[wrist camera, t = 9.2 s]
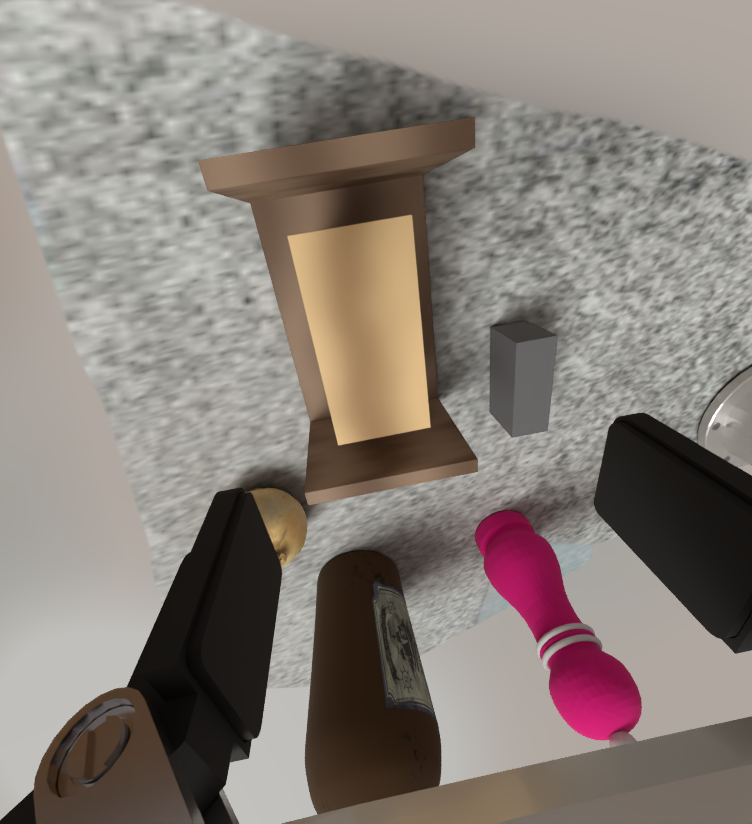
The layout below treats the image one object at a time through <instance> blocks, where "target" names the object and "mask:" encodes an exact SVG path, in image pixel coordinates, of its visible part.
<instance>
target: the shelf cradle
mask: <svg viewBox="0 0 752 824" xmlns="http://www.w3.org/2000/svg"><path fill="white" fill-rule="evenodd" d="M473 148H475V117H470V118H464V119H458V120H451V121H445V122H439V123H432V124H426V125H420V126H413V127H407V128H400V129H394V130H388V131H381V132H375V133H369V134H362V135H356V136H350V137H343V138H337V139H331V140H324V141H318V142H312V143H305V144H299V145H293V146H286V147H280V148H274V149H267V150H261V151H255V152H248V153H242V154H235V155H229V156H223V157H216V158H210V159H204V160H198V162H199V165H200V169H201V172H202V175H203V178H204V181H205V184H206V187H207V190H208V191H210V192H214V193H217V194H221V195H224V196H227V197H231V198H234V199H238V200H241V201H244V202H248V203H250V204H251V208H252V211H253V215H254V218H255V222H256V226H257V229H258V233H259V237H260V240H261V244H262V248H263V251H264V255H265V259H266V262H267V266H268V269H269V273H270V277H271V280H272V284H273V288H274V291H275V295H276V299H277V302H278V306H279V310H280V313H281V317H282V320H283V324H284V328H285V331H286V335H287V339H288V342H289V346H290V350H291V353H292V357H293V360H294V364H295V368H296V371H297V375H298V379H299V382H300V386H301V390H302V393H303V397H304V401H305V404H306V408H307V411H308V415H309V419H310V433H309V445H308V457H307V470H306V482H305V496H306V499H307V503H308V505H313V504H318V503H323V502H328V501H333V500H338V499H343V498H348V497H353V496H358V495H363V494H368V493H373V492H378V491H383V490H388V489H393V488H398V487H403V486H408V485H413V484H418V483H423V482H428V481H433V480H438V479H443V478H449V477H454V476H459V475H464V474H469V473H474V472H478V459H477V458H476V456H475V454H474V453H473V451H472V450H471V448H470V447H469V445H468V444H467V442H466V441H465V439H464V437H463V436H462V434H461V433H460V431H459V430H458V428H457V427H456V425H455V424H454V422H453V420H452V419H451V417H450V416H449V414H448V413H447V411H446V410H445V408H444V407H443V405H442V403H441V402H440V400H439V399H438V392H437V378H436V363H435V348H434V334H433V319H432V305H431V290H430V276H429V261H428V247H427V232H426V217H425V203H424V188H423V175H424V174H426V173H428V172H430V171H431V170H433V169H435V168H437V167H439V166H441V165H443V164H445V163H447V162H449V161H450V160H452V159H454V158H456V157H458V156H460V155H462V154H464V153H466V152H468V151H469V150H471V149H473ZM406 215H412V220H413V231H414V243H415V254H416V266H417V277H418V288H419V300H420V311H421V323H422V334H423V346H424V357H425V369H426V380H427V391H428V403H429V414H430V426H431V427H430V428H425V429H420V430H415V431H410V432H405V433H400V434H394V435H389V436H384V437H379V438H374V439H369V440H364V441H359V442H353V443H348V444H343V445H338V443H337V438H336V434H335V430H334V426H333V422H332V418H331V414H330V410H329V406H328V401H327V397H326V393H325V389H324V385H323V381H322V377H321V373H320V369H319V364H318V360H317V356H316V352H315V348H314V344H313V340H312V336H311V332H310V327H309V323H308V319H307V315H306V311H305V307H304V303H303V299H302V295H301V291H300V286H299V282H298V278H297V274H296V270H295V266H294V262H293V258H292V254H291V249H290V245H289V241H288V237H287V236H290V235H294V234H300V233H306V232H312V231H318V230H323V229H329V228H335V227H341V226H347V225H353V224H358V223H364V222H370V221H376V220H382V219H388V218H393V217H399V216H406Z"/></svg>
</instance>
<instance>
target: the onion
mask: <svg viewBox="0 0 752 824" xmlns="http://www.w3.org/2000/svg"><path fill="white" fill-rule="evenodd" d="M249 492H251V493H252V494H253V496H254V499H255V501H256V504H257V506H258V509H259V511H260V514H261V516H262V519H263V521H264V524H265V526H266V528H267V531H268V533H269V536H270V538H271V541H272V543H273V546H274V548H275V551H276V553H277V556H278V558H279V560H280V563H281V568H282V567H284V566H285V565H287V564H288V563H289V562H290V561H291V560H292V559H294V558H295V557H296V556H297V554H298V553H299V552H300V551H301V549H302V547H303V545H304V542H305V538H306V533H307V519H306V515H305V512H304V510H303V508H302V506H301V504H300V503H299V502H298V501H297V500H296V499H295V498H293V497H292V496H291V495H290V494H288V493H286V492H284V491H282V490H279V489H275V488H265V489H261V488H259V487H257V488H256V489H255V488H254V489H251V491H249ZM245 493H246V492H245ZM270 504H271V505H270Z"/></svg>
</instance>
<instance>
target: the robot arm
mask: <svg viewBox="0 0 752 824" xmlns="http://www.w3.org/2000/svg"><path fill="white" fill-rule="evenodd" d="M748 464H750V465H752V367H750V368H749V369H747V370H746V371H744V372H743V373H741V374H740V375H738V376H737V377H736V378H735V379H734V380H732V381H731V382H730V383H729V384H728V385H727V386H726V387H725V388H724V389H723V390H722V391H721V392H720V393H719V394H718V395H717V396H716V397H715V399H714V400H713V401H712V403H711V404H710V405H709V407H708V409H707V410H706V412H705V414H704V416H703V418H702V421H701V423H700V426H699V431H698V444H697V443H695V442H694V441H692V440H690V439H689V438H687V437H685V436H683V435H682V434H680V433H678V432H677V431H675V430H673V429H672V428H670V427H668V426H667V425H665V424H663V423H661V422H660V421H658V420H656V419H655V418H653V417H651V416H650V415H648V414H645V413H636V414H631V415H625V416H620V417H618V418H616V419H615V421H614V423H613V424H611V425H610V427H609V430H608V435H607V440H606V445H605V449H604V454H603V459H602V464H601V469H600V474H599V479H598V484H597V488H596V493H595V498H594V506H595V509H596V511H597V513H598V514H599V515H600V516H601V517H602V518H603V520H604V521H605V522H606V523H607V524H608V525H609V526H610V527H611V528H612V529H613V530H614V531H615V532H616V533H617V534H618V536H619V537H620V538H621V539H622V540H623V541H624V542H625V543H626V544H627V545H628V546H629V547H630V548H631V549H632V551H633V552H634V553H635V554H636V555H637V556H638V557H639V558H640V559H641V560H642V561H643V562H644V563H645V564H646V565H647V567H648V568H649V569H650V570H651V571H652V572H653V573H654V574H655V575H656V576H657V577H658V578H659V579H660V580H661V581H662V583H663V584H664V585H665V586H666V587H667V588H668V589H669V590H670V591H671V592H672V593H673V594H674V595H675V596H676V598H677V599H678V600H679V601H680V602H681V603H682V604H683V605H684V606H685V607H686V608H687V609H688V610H689V611H690V613H692V615H693V616H694V617H695V618H696V619H697V620H698V621H699V622H700V623H701V624H702V625H703V626H704V627H705V629H706V630H707V631H709V632H710V633H711V634H712V635H714V636H715V637H717V638H720V639H722V640H723V641H724V642H725V643H726V644H727V645H728V646H729V647H730V648H731V649H732V650H733V652H734V653H741V652H745V651H750V650H752V476H751V475H749V474H748V473H746V472H744V471H743V470H741V469H739V468H738V467H736V466H743V465H748ZM281 578H282V569H281V563H280V560H279V558H278V556H277V553H276V551H275V548H274V546H273V543H272V541H271V538H270V536H269V533H268V531H267V528H266V526H265V524H264V521H263V519H262V516H261V514H260V511H259V509H258V506H257V504H256V501H255V499H254V496H253V494H252V493H251V492H246V493H245V491H244V490H243V489H242V488H236V489H231V490H225V491H220V492H217V493H216V495H215V496H214V499H213V501H212V503H211V506H210V508H209V510H208V513H207V515H206V517H205V520H204V522H203V525H202V527H201V529H200V532H199V534H198V536H197V539H196V541H195V543H194V546H193V548H192V550H191V552H190V553H188V554H187V555H186V556H185V558H184V559H183V561H182V563H181V565H180V567H179V570H178V572H177V574H176V576H175V579H174V581H173V583H172V586H171V588H170V590H169V592H168V595H167V597H166V599H165V601H164V604H163V606H162V608H161V611H160V613H159V615H158V617H157V620H156V622H155V624H154V626H153V629H152V631H151V633H150V636H149V638H148V640H147V642H146V645H145V647H144V649H143V651H142V654H141V656H140V658H139V660H138V663H137V665H136V667H135V670H134V672H133V674H132V676H131V679H130V681H129V683H128V685H127V687H125V688H117V689H113V690H111V691H109V692H106V693H104V694H102V695H100V696H98V697H97V698H95V699H94V700H93V701H91V702H89V703H88V704H86V705H85V706H84V707H83V708H82V709H80V710H79V711H78V712H77V713H76V714H75V715H74V716H73V717H72V718H71V719H70V720H69V721H68V722H67V723H66V724H65V726H64V727H63V728H62V729H61V730H60V732H59V733H58V734H57V735H56V737H55V738H54V739H53V741H52V743H51V744H50V746H49V748H48V749H47V751H46V753H45V754H44V756H43V758H42V760H41V763H40V766H39V769H38V771H37V774H36V777H35V783H34V790H33V791H32V792H31V793H29V794H28V795H27V796H26V797H25V798H24V799H23V800H22V801H21V802H20V803H19V804H18V805H16V806H15V807H14V808H13V809H12V810H11V811H10V812H9V813H8V814H7V815H6V816H5V817H3V818H2V819H1V820H0V824H239V822H238V820H237V818H236V816H235V814H234V812H233V809H232V807H231V805H230V803H229V801H228V799H227V797H226V795H225V792H224V790H223V787H224V786H225V785H226V780H227V775H228V769H229V764H230V762H233V761H239V760H243V759H248V758H249V753H250V747H251V740H252V739H254V738H257V737H258V735H259V733H260V730H261V725H262V718H263V711H264V703H265V696H266V688H267V681H268V674H269V666H270V659H271V652H272V644H273V637H274V630H275V622H276V615H277V608H278V600H279V593H280V586H281ZM282 824H752V717H747V718H742V719H738V720H733V721H729V722H724V723H719V724H715V725H710V726H705V727H701V728H697V729H692V730H687V731H683V732H678V733H674V734H669V735H665V736H660V737H656V738H651V739H647V740H643V741H638V742H633V743H628V744H624V745H619V746H615V747H610V748H606V749H601V750H597V751H592V752H588V753H583V754H580V755H575V756H570V757H565V758H561V759H557V760H552V761H548V762H543V763H539V764H534V765H530V766H525V767H521V768H516V769H512V770H507V771H503V772H499V773H494V774H490V775H486V776H481V777H477V778H473V779H468V780H464V781H459V782H455V783H450V784H446V785H441V786H437V787H433V788H428V789H424V790H420V791H415V792H411V793H406V794H402V795H398V796H393V797H389V798H384V799H380V800H376V801H371V802H367V803H362V804H358V805H354V806H350V807H346V808H342V809H338V810H334V811H330V812H326V813H322V814H318V815H314V816H310V817H306V818H303V819H298V820H294V821H290V822H286V823H282Z"/></svg>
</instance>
